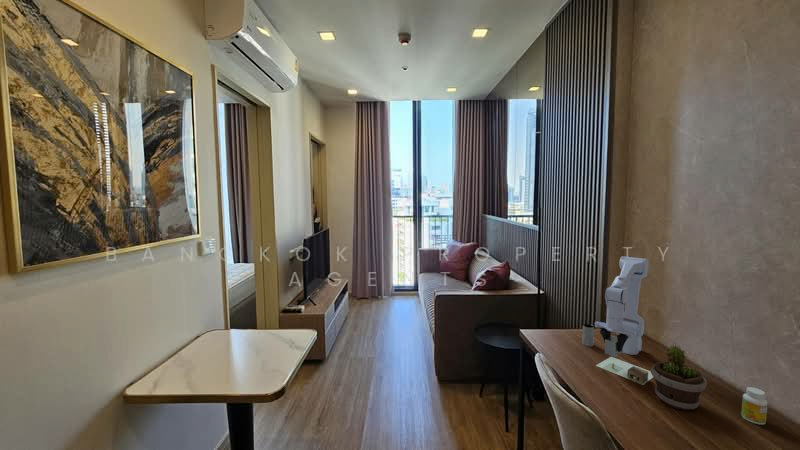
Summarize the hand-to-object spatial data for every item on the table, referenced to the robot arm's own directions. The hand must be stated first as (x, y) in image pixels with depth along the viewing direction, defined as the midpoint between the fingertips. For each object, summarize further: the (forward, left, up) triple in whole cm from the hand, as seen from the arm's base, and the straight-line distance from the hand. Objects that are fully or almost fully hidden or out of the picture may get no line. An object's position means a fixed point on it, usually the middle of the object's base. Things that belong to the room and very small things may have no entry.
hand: (613, 348), depth 134 cm
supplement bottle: (-6, +39, -10) cm, 41 cm away
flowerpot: (+3, +22, -10) cm, 24 cm away
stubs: (+1, +9, -8) cm, 12 cm away
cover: (+1, +9, -8) cm, 12 cm away
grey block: (0, 0, -2) cm, 2 cm away
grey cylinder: (-14, -17, -10) cm, 24 cm away
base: (-3, +3, -10) cm, 11 cm away
